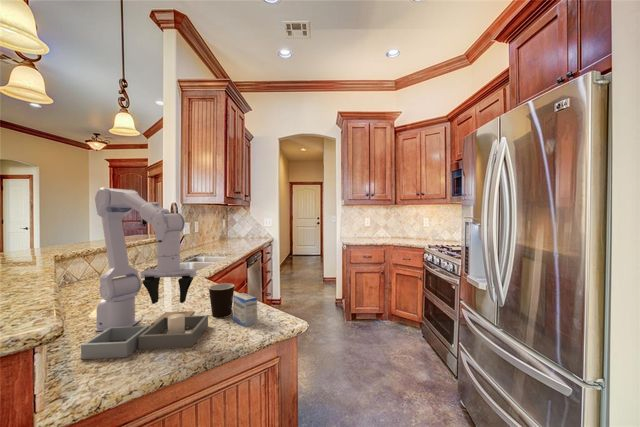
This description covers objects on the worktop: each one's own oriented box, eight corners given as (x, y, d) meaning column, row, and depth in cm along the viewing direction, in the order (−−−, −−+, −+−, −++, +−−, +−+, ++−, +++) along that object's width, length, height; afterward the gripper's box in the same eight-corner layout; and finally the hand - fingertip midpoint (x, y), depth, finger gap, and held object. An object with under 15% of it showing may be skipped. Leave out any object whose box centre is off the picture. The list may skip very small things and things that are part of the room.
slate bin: (81, 359, 67) (80, 345, 67) (110, 339, 77) (110, 327, 77) (126, 356, 68) (126, 343, 68) (149, 337, 78) (149, 325, 78)
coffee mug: (226, 320, 91) (226, 290, 91) (203, 318, 93) (203, 289, 93) (242, 308, 103) (242, 282, 103) (222, 306, 104) (222, 280, 104)
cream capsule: (164, 340, 76) (164, 319, 76) (171, 334, 81) (171, 313, 81) (181, 340, 77) (181, 319, 77) (187, 333, 81) (187, 313, 81)
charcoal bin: (138, 349, 71) (138, 336, 71) (163, 328, 85) (163, 316, 85) (191, 347, 73) (191, 334, 73) (207, 326, 86) (207, 315, 86)
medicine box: (232, 321, 91) (232, 295, 91) (244, 317, 94) (244, 292, 94) (245, 327, 85) (245, 300, 85) (257, 323, 88) (257, 297, 88)
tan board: (151, 324, 88) (151, 323, 88) (165, 313, 98) (165, 312, 98) (183, 323, 89) (183, 322, 89) (194, 312, 99) (194, 311, 99)
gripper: (133, 257, 73) (134, 308, 73) (189, 256, 74) (189, 306, 74) (148, 254, 80) (148, 299, 80) (198, 253, 82) (198, 298, 81)
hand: (169, 302), depth 78 cm, fingers open, 7 cm apart
